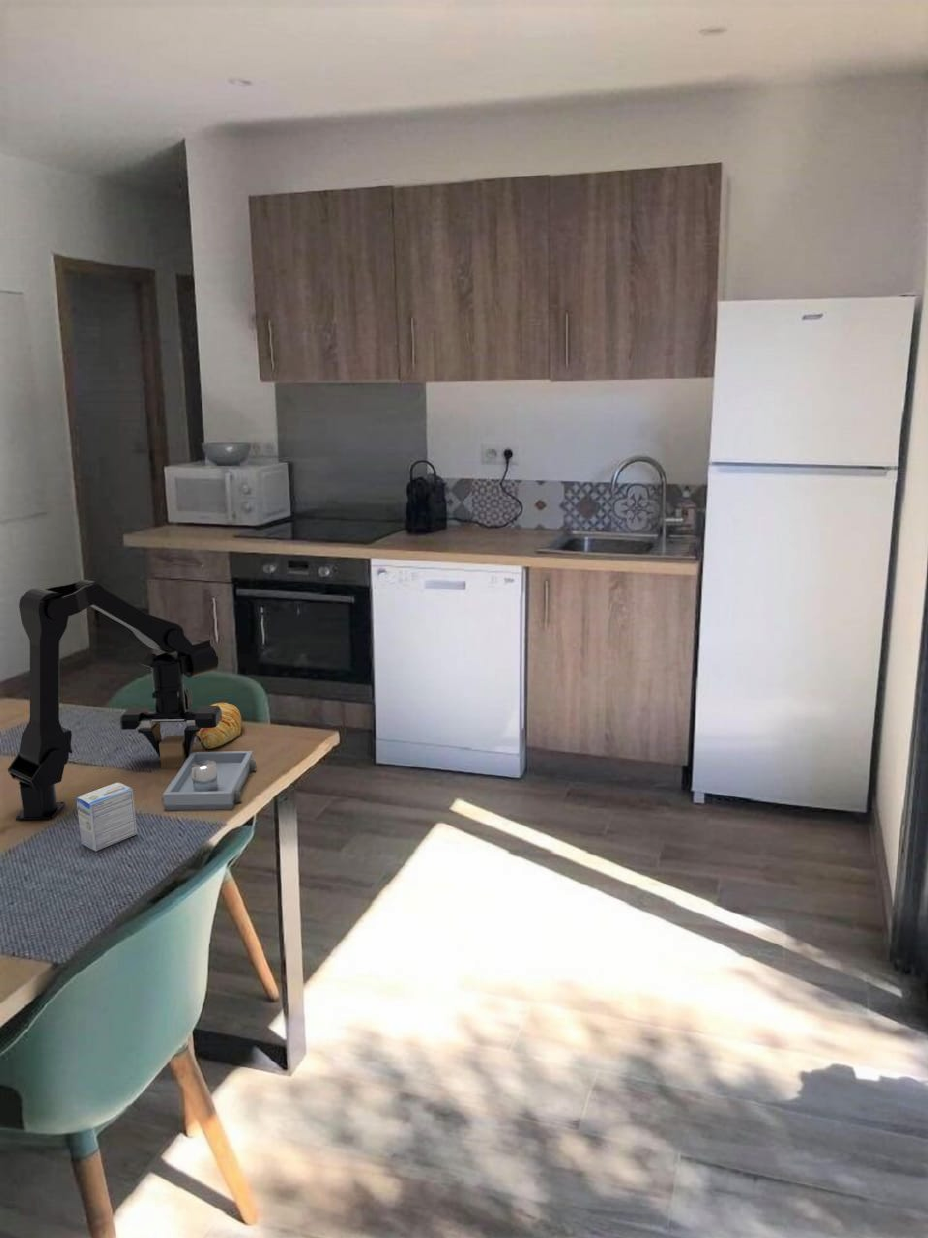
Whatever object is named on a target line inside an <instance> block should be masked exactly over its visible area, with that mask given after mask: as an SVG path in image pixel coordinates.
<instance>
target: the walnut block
mask: <svg viewBox="0 0 928 1238" xmlns="http://www.w3.org/2000/svg"><path fill="white" fill-rule="evenodd" d="M159 750H160V757H159V759H160V768H181V767H182V766H183V765H184V763H185V762H186V760H187V759H188V758H186V754H185V738H184V734H182V735H164V737H162V741H161V742H160V743H159Z"/></svg>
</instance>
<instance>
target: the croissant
mask: <svg viewBox="0 0 928 1238" xmlns="http://www.w3.org/2000/svg"><path fill="white" fill-rule="evenodd" d="M209 706H219V707H220V709H221V710H222V719H221V720H220V722H219V723H218V725H217V726H216V727H214V728H202V729H201V730H200V731H199V732H197V733H196V736H197V737H199V738H200V741H201V743H203V746H204V747H205V748H206V749H208V750H209V749H214V748H217V747H220V746H223V745H225V744H227V743H229V742H230V741H232V740H233V739H235V738H236V737H239V736H240V735H241V732H242V715H241V713H240V710H239V709H238V708H237V707H236V706H235V705H233V704H232V703H231V704H230V703H228V702H227V701H224V702H217V703H213V704H211V705H209Z"/></svg>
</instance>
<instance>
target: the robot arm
mask: <svg viewBox="0 0 928 1238" xmlns="http://www.w3.org/2000/svg"><path fill="white" fill-rule="evenodd" d="M18 605H19V606H18V607H19V613H20V618H21V619H20V620H21V624H22V627H23V628H24V631H25V633H26V635H27V637H28V641H29V720H28V723H27V725H26V727H25V729H24V731H23V732H22V735H21V741H20V745H19V746H20V747H19V752H18V754H17V755H16V756H15V758H14V759H13V761H12V762H11V764H10V765H9V767H8V768H7V772H8V773H9V775H10V777H11V779H13V780H17V781H18V784H19V785H18V786H19V793H20V799H21V800H20V801H21V805H22V807H21V808H22V810H21V811H20V812H19V813H18V814H17V815H15V817H14V818H15V820H16V821H39V820H40V821H41V820H44V821H45V820H46V821H47V820H53V819H54V818H55V816H57V815H58V813H59V812H60V811H61V810H62V809H63V808H64V806H65V805H66V802H65V801H58V799H57V792H56V791H57V790H56V785H57V784H60V783H61V782H62V780H63V774H64V769H65V765H67V764H68V762H69V759H70V754H73V749H72V746H71V743H72V737H73V734H72V733H73V732H72V731H71V730H70V729H68V728H65V727H64V726H63V727H62V725H61V723H60V641H61V639H62V637H63V635H64V634H65V632H66V629H67V627H68V624H69V623H68V622H69V619H70V618H69V617H71V616H74V615H77V614H80V613H81V612H82V611H83V612H84V610H85V609H88V607H91V608H93V609H94V610H96V611H99V613H100V612H101V614H103V615H105V616H107V617H109V618H111V619H112V620H114V621H115V622H118V623H119V624H121V625H123V626H125V627H126V628H128V629H129V630H130V631H132V632H133V634H134V635H135V637H136V638H137V639H139V641H141V642H142V643H143V644H144V645H145V646H147V647H148V648H151V649H155V650H159V651H161V652H162V653H157V654H155V653H152V652H146V655H145V656H144V657H143V658H142V659H141V661H139V664H140V665H141V666H144V667H148V668H150V669H151V678H152V689H153V692H151V697H152V699H154V709H155V712H149V709H148V707H147V706H135V707H134V706H129V707H128V708H127V709H126V710H125V711H124V713H123V714H121V716H120V718H119V726H120V730H123V731H124V730H137V733H138V734H143V736H144V737H145V739H146V740H147V741H148V742H149V743H150V744H151V746H152V748H153V749H154V751H155V752H156V755H157V756H158V757H159V758H160V750H159V743H160V742H161V741H162V740H163V737H162V733H161V723H174V722H175V723H179V722H180V723H182V722H186V727H185V728H184V730H183V735H184V738H185V754H186V758H188V757H189V756H190V754H191V753H192V749H193V746H194V745H193V744H194V741H195V737H196V736H197V734H196V733H197V732H199V731H200V730H201V729H202V728H214V727H216V726H217V725H218V723H219V722H220V720H221V719H222V710H221V709H220V707H219V706H210V705H201V706H200V707H199V708H198V710H197V711H187V710H189V709H190V708H191V707H192V706H193V690H191V689H190V690H188V689H187V688H186V685H185V684H186V683H184V676H185V677H186V678H189V679H190V678H194V677H197V676H200V675H203V674H207V673H210V672H214V671H216V670H217V669H218V666H219V657H218V655H217V652H216V650H215V649H214V647H213V646H212V645H211V640H210V639H207V638H200V639H198V640H196V641H193V642H190V640H189V639H188V638H187V637H186V636H185V633H184V631H185V630H184V628H183V627H182V626H181V625H180V624H178V623H175V622H172V621H171V620H168V619H164V618H161V617H158V616H154V615H151V614H149V613H146V612H145V611H143V610H142V609H140V608H139V607H136V605H134V604H131V603H130V602H128V601H127V600H125V599H123V598H121V597H120V596H119V595H116V594H115V593H113V592H111V591H110V590H109V589H107V588H105V587H104V586H103V585H102V584H100V583H98V582H96V581H91V580H88V579H81V580H78V581H75V582H72V583H66V584H64V585H63V584H62V585H57V586H51V587H48V588H47V587H46V588H44V589H43V588H39V587H38V588H37V587H36V588H31V589H28V590H27V591H26V592H25V593H24V594H23V595H22V596H21V597H20V599H19V604H18ZM172 653H173V654H172ZM183 675H184V676H183ZM137 728H138V729H137Z"/></svg>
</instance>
